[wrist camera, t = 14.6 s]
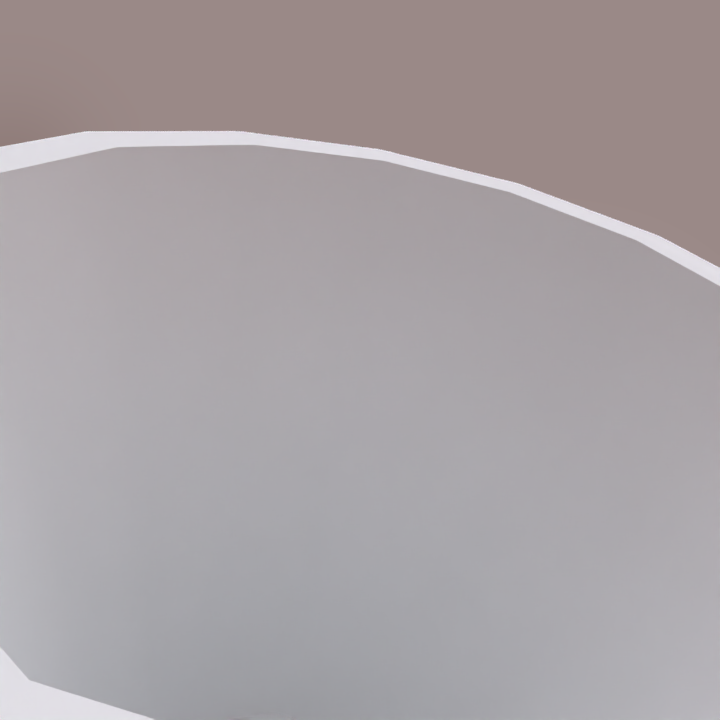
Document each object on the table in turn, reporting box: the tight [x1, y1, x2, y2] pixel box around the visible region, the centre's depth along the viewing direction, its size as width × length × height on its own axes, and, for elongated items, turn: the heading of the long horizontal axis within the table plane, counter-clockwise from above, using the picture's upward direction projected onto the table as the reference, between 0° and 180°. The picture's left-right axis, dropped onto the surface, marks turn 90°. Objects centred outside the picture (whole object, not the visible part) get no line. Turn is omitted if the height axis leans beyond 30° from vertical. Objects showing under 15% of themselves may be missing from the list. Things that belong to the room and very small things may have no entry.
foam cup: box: [0, 131, 720, 720], centre depth 9 cm, size 10×9×13 cm
